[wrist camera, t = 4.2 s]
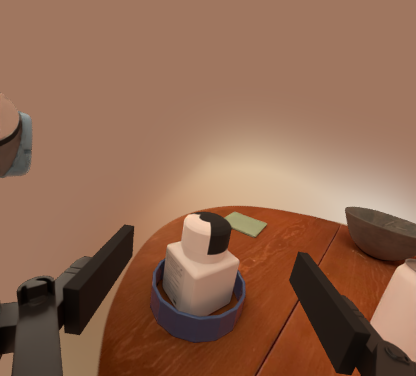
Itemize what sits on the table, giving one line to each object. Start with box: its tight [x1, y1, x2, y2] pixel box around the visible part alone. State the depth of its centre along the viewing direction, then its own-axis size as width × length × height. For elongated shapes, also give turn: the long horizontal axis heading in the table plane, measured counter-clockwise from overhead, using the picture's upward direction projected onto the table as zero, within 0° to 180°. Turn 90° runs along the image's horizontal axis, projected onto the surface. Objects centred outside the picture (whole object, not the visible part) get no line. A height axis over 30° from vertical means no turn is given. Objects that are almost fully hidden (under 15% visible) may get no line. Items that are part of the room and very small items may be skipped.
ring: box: [150, 258, 245, 343], centre depth 30 cm, size 13×13×4 cm
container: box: [162, 212, 239, 317], centre depth 29 cm, size 8×8×13 cm
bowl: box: [345, 207, 416, 261], centre depth 52 cm, size 19×19×10 cm
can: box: [370, 259, 416, 362], centre depth 26 cm, size 6×6×12 cm
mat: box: [225, 212, 267, 238], centre depth 59 cm, size 11×11×1 cm
